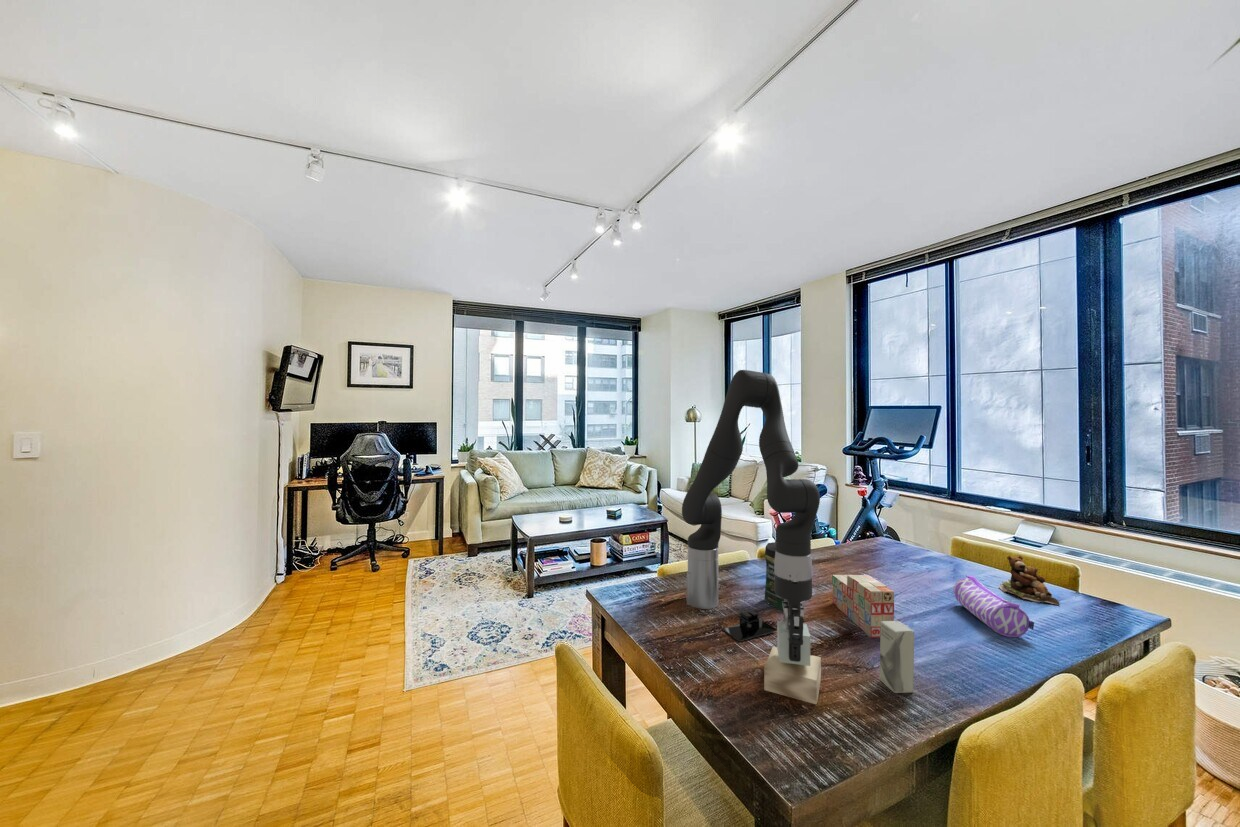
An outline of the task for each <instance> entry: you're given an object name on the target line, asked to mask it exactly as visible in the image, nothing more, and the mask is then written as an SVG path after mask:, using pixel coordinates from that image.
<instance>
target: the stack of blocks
mask: <svg viewBox="0 0 1240 827" xmlns="http://www.w3.org/2000/svg"><path fill="white" fill-rule="evenodd" d="M831 584H832V604H834V605H835V606H836V607H837V608H838V609H839V610H840V611H841V612H842V613H843V614H844V615H845V616H846V617H847V618H848V619H850V620H851V621H852V622H853V623H854V624H855V625H857V627H858V628H860V629H861V630H862V631H863V632H864V633H865V634H866V635H867V636H868V637H869V638H871V639H872V638H873V639H875V638H878V639H879V638H880V635H881V621H895V591H894V590H893V589H891V588H889V587H888V586H887V585H886V584H884V583H882V582H880V581H879V580H877V579H875V578H874V577H872V576H870V575H869V574H832V576H831Z"/></svg>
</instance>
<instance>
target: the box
mask: <svg viewBox="0 0 1240 827" xmlns="http://www.w3.org/2000/svg"><path fill="white" fill-rule="evenodd" d="M879 640H880V646H879V648H880V649H879V680H880V681H881V682H882V683H883V684H884V685H885V686H886V687H887V688H888V689H889V690H891V691H892V692H893V693H894V694H907V693H914V676H915V675H914V672H915V630H913V629H912V628H910V627H909V626H908V625H905V624H904V623H903V622H901V621H899V620H894V621H881V635H880V639H879Z"/></svg>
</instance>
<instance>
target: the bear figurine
mask: <svg viewBox="0 0 1240 827" xmlns="http://www.w3.org/2000/svg"><path fill="white" fill-rule="evenodd" d="M1006 559H1007V561H1008V562H1009V566H1010V568H1011V570H1010V574H1011V576H1010V579H1008V581H1007V580H1005V581H1001V584H1000V585H999V586H998V588H999V589H1000V591H1002V592H1003V593H1005V592H1007V593H1010V594H1013V595H1014V596H1017V597H1020V598H1021V599H1023V600H1028V601H1031V602H1034V603H1049V604H1053V605H1057V606H1060V605H1061V603H1060V601H1059V600H1058V599H1056V598H1055V597H1053V594H1052V593H1051V592H1050V591H1049V589H1048V587H1047V586H1046V585H1045V584H1044V583H1045V582H1046V579H1045V577H1044V576H1042V575H1038V568H1037V567H1035V568H1034V566H1029V565H1028V566H1026V563H1025V562H1024V560H1023V556H1021V555H1020V554H1019V556H1018V557H1012V556H1010V555H1008V556H1006Z"/></svg>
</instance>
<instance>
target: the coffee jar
mask: <svg viewBox="0 0 1240 827" xmlns="http://www.w3.org/2000/svg"><path fill="white" fill-rule="evenodd" d="M775 553H776V541H774V542H768V543H767V544H765V549H764V559H765V565H766V566H765V568H766V570H765V573H766V574H765V587H764V588H765V589H764V602H765V603H766V604H768V603H769V604H768V605H770V606H771V605H772V607H774V608H775V609H778V610H780V611H783V605H782V603H783V601H784V599H783V598H780V597H779V596H777V595H776V594H775V591H774V561H775Z"/></svg>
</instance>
